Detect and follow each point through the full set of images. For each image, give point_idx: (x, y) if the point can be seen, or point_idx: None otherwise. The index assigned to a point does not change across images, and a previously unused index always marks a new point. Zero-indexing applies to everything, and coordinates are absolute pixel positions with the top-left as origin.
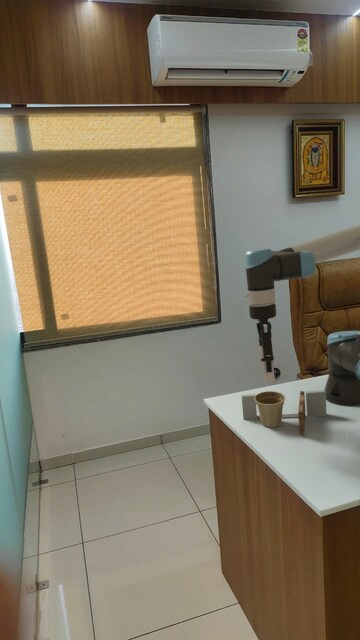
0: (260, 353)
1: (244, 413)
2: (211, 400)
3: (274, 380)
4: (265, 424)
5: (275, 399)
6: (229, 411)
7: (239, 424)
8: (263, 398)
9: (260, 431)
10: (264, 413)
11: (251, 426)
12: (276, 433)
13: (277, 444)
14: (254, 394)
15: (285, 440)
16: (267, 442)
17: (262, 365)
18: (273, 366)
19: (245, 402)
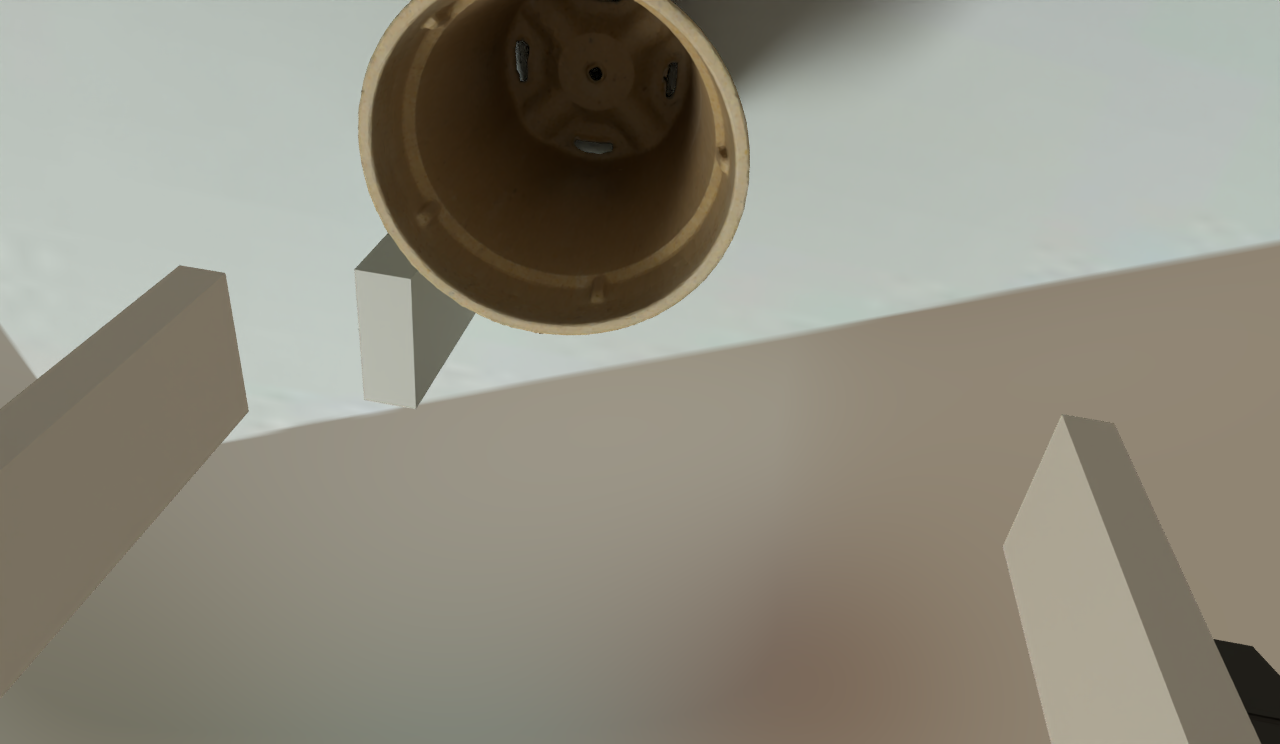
0: (76, 609)
1: None
2: None
3: (1126, 450)
4: (668, 147)
5: (443, 39)
6: (321, 356)
7: None
8: (430, 184)
9: None
10: (676, 202)
11: None
12: (820, 71)
13: (1031, 116)
14: (372, 280)
15: (986, 22)
16: (960, 191)
17: (224, 413)
18: (1227, 685)
19: (437, 342)
